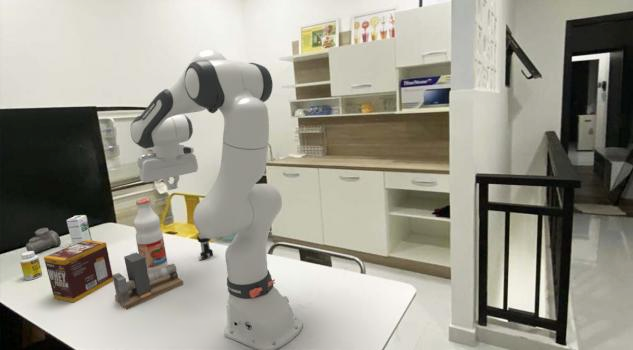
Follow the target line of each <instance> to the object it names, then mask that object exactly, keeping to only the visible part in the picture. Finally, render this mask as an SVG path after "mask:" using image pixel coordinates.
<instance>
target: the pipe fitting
mask: <svg viewBox="0 0 633 350" xmlns="http://www.w3.org/2000/svg"><path fill="white" fill-rule="evenodd" d="M34 234H35V235H36V236H34V237H32V238H30V239H29V240H28V242H27V243H26V244H25V248H26V252H28V251H34V253H35V255H36V254H39V253H40V252H42V251H45V250H47V249H49V248H51V247H54V248H56V247H59V246H61V243H62V240H61V238H60V236H59V234H58V233H57V232H56V231H54V230H49V228H48V227H42V228H39V229H37V230H36V231H34Z"/></svg>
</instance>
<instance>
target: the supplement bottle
mask: <svg viewBox="0 0 633 350" xmlns="http://www.w3.org/2000/svg"><path fill="white" fill-rule="evenodd" d="M19 263H20V265H21V266H20V267H21V271H22V274H23V277H24V280H25V281H31V280H35V279H37V278H40V277H41V276H42V275H43V271H42V267H41V263H40V258H39V255H36V254H35V253H34V251H26V252H22V253H21V259H20V260H19Z"/></svg>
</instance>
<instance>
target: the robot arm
mask: <svg viewBox="0 0 633 350" xmlns="http://www.w3.org/2000/svg"><path fill="white" fill-rule="evenodd" d="M273 85H274V84H273V78H272V75H271V73H270V71H269V70H268V68H267V67H265V66H263V65H261V64H259V63H255V62H243V61H237V60H236V61H235V60H231V59H227V58H226V57H225V56H224V55H223V54H222V53H220V52H218V51H216V50H212V49H205V50H202V51H201V52H199V53H197V54H196V55H195V57H193V58H192V59H191V60H190V62H189V63H188V64H187V66H186V67H185V68H184V71H183V72H182V74H181V75H180V77H179V78H178V79H177V80H176V81H175V82H173V84H171V85H169V86H168V87H167V88H165V89H163V90H162V91H161V92H159V93H158V94H157V95H156V96H155V97H154V98H153V99H152V101H151V102H150V103H149V105H148V106H147V107H146V108H145V110H144V111H143V112H142V113H141V114H139V115H138V116H136V117H135V118H134V119H133V121H132V122H131V125H130V136H131V139H132V141H133V142H134V143H135V144H136V145H137V146H139V147H141V148H143V149H145V150H146V149H150V148H152V152H153V153H149V154H142V155H141V156H139V158H138V159H137V166H138V168H139V170H138V171H139V180H140V181H141V182H143V183H152V182H156V181H160V180H163V183H165V184H166V186H167V190H168V191H171V190H176V189H178V188H179V187H178V183H179V180H180V176H183V175H188V174H193V173H196V172H198V170H199V164H198V159H197V156H196V155H195V153H194V152H195V150H194V147H191V146H185V145H184V144H183V145H182V144H181V143H185V142H188V141H189V140H190V139H191V138H192V136H193V133H194V130H193V123H192V120H191V119H190V118H189V117H188V116H187V115H185V114H192V113H193V114H194V113H197V112H198V113H199V112H202V111H205V110H207V111H208V112H209V113H210V114H215V113H216V112H217V111H218V110H219V112H221V114H222V116H223V117H222V118H223V121H224V123H223V131H222V132H223V134H222V149H221V150H222V151H221V161H220V167H219V171H218V174H217V177H216V178H215V181H214V183H213V185H212V187H211V189H210V190H209V192H208V193H207V194H206V196H204V198H203V199H202V200H200V202H198V203H197V204H196V206H195V207H194V211H193V216H192V218H193V224H194V226H195V229H196V230H197V232H198V233H199V235H200V234H201V235H203V236H204V237H206V238H208V239H210V240H211V239H212V240H213V239H218V238H219V239H220V238H225V237H229V236H231V235H234V234H235V236H234V238H233V240H232V241H231V242H230V243H229V245H228V246H227V248H226V250H225V256H224V257H225V263H226V264H225V265H226V271H227V272H226V273H227V277H226V287H227V291H228V293H229V295H228V300H227V303H226V327H225V329H224V336H225V337H226V338H228V339H231V340H233V341H236V342H239V343H241V344H243V345H245V346H248V347H250V348H253V349H255V350H277V349H280V348H282V347H283V346H285V345H287V344H288V343H289V342H291V341H292V340H294V339H295V338H296V336H297V335H299V333H300V332H301V331H302V329H303V326H304V324H303V321H302V320H301V319H299V318H298V317H297V316H296V315H295V314H294V313H293V310H292V307H291V305H290V302H289V301H290V300H289V297H288V296H286V295H284V296H283V295H282V294H281V292H279V290H278V289H277V287H275V285H274V284H275V283H276V282H275V279H273V278H272V275H271V273H270V270H269V269H268V260H267V259H268V256H267V244H268V237H269V233H270V230H271V227H272V225H273V222H274V220H275V219H276V217H277V215H278V214H279V213H280V211H281V210H282V204H283V199H282V195H281V193H280V190H278V188H277V187H276V186H274V185H273V184H271V183H258V182H259V181H260V180H261V179H262V177H263V176H264V174H265V173H266V170H267V169H266V168H267V160H268V150H269V149H268V148H269V140H270V139H269V138H270V122H269V121H270V120H269V119H270V118H269V111H268V107H267V105H266V103H265V102H266V101H268V100H269V98H270V97H271V95H272V91H273ZM170 178H172V179H174V180H173V182H172V183H170Z"/></svg>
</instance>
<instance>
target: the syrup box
mask: <svg viewBox="0 0 633 350" xmlns="http://www.w3.org/2000/svg"><path fill="white" fill-rule="evenodd" d="M66 224H67V229H68V233H69V236H70V239H71V240H70V241H71V244H72V245H75V244H77V243H80V242H82V241H84V240H91V241H93V238H92V234H91V231H90V226H89V222H88V217H87V215H86V214H80V215H74V216H73V217H70V218H68V219H66Z"/></svg>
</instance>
